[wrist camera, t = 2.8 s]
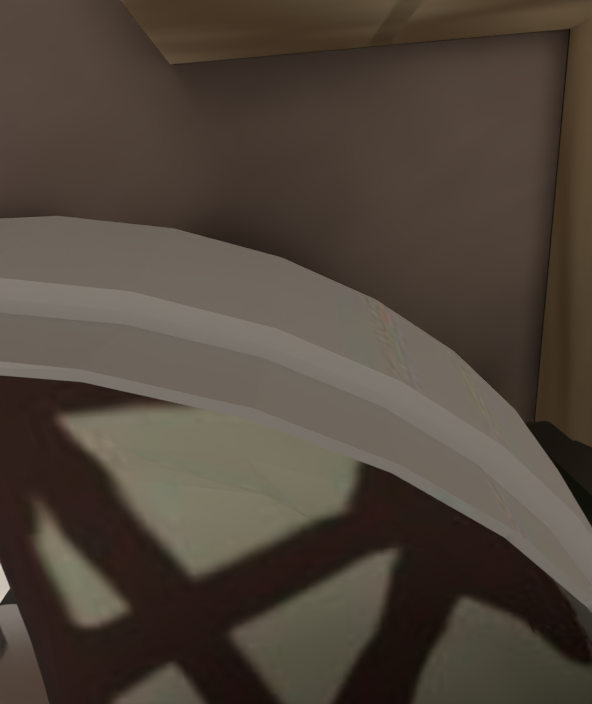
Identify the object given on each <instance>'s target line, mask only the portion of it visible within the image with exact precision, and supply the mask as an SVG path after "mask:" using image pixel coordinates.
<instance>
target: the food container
mask: <svg viewBox="0 0 592 704" xmlns="http://www.w3.org/2000/svg"><path fill="white" fill-rule="evenodd" d="M0 564H1V566H2V569H3V571H4V574H5V576H6V579H7V581H8V584H9V587H10V589H11V592H12V594H13V597H14V599H15V602H16V604H17V607H18V609H19V612H20V614H21V617H22V619H23V622H24V625H25V627H26V630H27V632H28V635H29V638H30V641H31V644H32V647H33V650H34V654H35V657H36V660H37V663H38V667H39V670H40V673H41V676H42V680H43V683H44V686H45V690H46V694H47V698H48V702H49V704H592V527H591V525H590V523H589V522H588V520H587V518H586V517H585V515H584V513H583V512H582V510H581V508H580V506H579V505H578V503H577V501H576V500H575V498H574V496H573V495H572V493H571V491H570V490H569V488H568V486H567V485H566V483H565V481H564V479H563V478H562V476H561V474H560V473H559V471H558V469H557V468H556V467H555V465H554V464H553V462H552V461H551V460H550V458H549V457H548V455H547V454H546V453H545V451H544V450H543V448H542V447H541V446H540V444H539V443H538V441H537V440H536V438H535V437H534V436H533V434H532V433H531V431H530V430H529V429H528V427H527V426H526V424H525V423H524V422H523V420H522V419H521V417H520V416H519V414H518V413H517V412H516V410H515V409H514V408H513V407H512V406H511V405H510V404H509V403H508V402H507V401H506V400H505V399H504V398H502V397H501V396H500V395H499V394H498V393H497V392H496V391H495V390H494V389H493V388H492V387H491V386H490V385H489V384H488V383H487V382H486V381H485V380H484V379H483V378H482V377H480V376H479V375H478V374H477V373H476V372H475V371H474V370H473V369H472V368H471V367H470V366H469V365H468V364H467V363H466V362H465V361H464V360H463V359H462V358H461V357H460V356H459V355H457V354H456V353H455V352H454V351H453V350H451V349H450V348H448V347H447V346H445V345H444V344H442V343H441V342H439V341H438V340H436V339H435V338H433V337H432V336H430V335H429V334H427V333H426V332H424V331H423V330H421V329H420V328H418V327H417V326H415V325H414V324H412V323H411V322H409V321H408V320H406V319H405V318H403V317H402V316H400V315H399V314H397V313H396V312H394V311H392V310H391V309H389V308H388V307H386V306H385V305H383V304H382V303H380V302H379V301H377V300H376V299H374V298H371V297H369V296H367V295H365V294H362V293H360V292H358V291H356V290H353V289H351V288H349V287H347V286H345V285H342V284H340V283H338V282H336V281H333V280H331V279H329V278H327V277H324V276H322V275H320V274H318V273H315V272H313V271H311V270H309V269H306V268H304V267H302V266H300V265H297V264H295V263H293V262H291V261H289V260H286V259H284V258H282V257H278V256H275V255H271V254H267V253H264V252H260V251H256V250H252V249H249V248H245V247H241V246H237V245H234V244H230V243H226V242H223V241H219V240H215V239H211V238H208V237H204V236H200V235H197V234H193V233H189V232H185V231H182V230H178V229H174V228H166V227H156V226H147V225H138V224H129V223H120V222H110V221H101V220H92V219H83V218H73V217H64V216H43V217H21V218H0Z"/></svg>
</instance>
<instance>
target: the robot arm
mask: <svg viewBox="0 0 592 704" xmlns="http://www.w3.org/2000/svg"><path fill="white" fill-rule="evenodd" d="M525 424H526V426H527V427H528V429H529V430H530V431H531V433H532V434H533V436H534V437H535V438H536V440H537V441H538V443H539V444H540V446H541V447H542V448H543V450H544V451H545V453H546V454H547V455H548V457H549V458H550V460H551V461H552V462H553V464H554V465H555V467H556V468H557V469H558V471H559V473H560V474H561V476H562V478H563V479H564V481H565V483H566V485H567V486H568V488H569V490H570V491H571V493H572V495H573V496H574V498H575V500H576V501H577V503H578V505H579V506H580V508H581V510H582V512H583V513H584V515H585V517H586V518H587V520H588V522H589V523H590V525H591V527H592V447H590V446H588V445H585V444H583V443H581V442H579V441H577V440H576V441H572V440H571V439H570V438H569V437H568V436H566V435H565V434H564V433H563V432H561V431H560V430H559V429H558V428H557V427H555V426H554V425H553V424H552V423H550V422H548V421H537V422H528V423H525ZM0 704H49V702H48V698H47V694H46V690H45V686H44V683H43V680H42V676H41V673H40V670H39V667H38V663H37V660H36V657H35V654H34V650H33V647H32V644H31V641H30V638H29V635H28V632H27V630H26V627H25V625H24V622H23V619H22V617H21V614H20V612H19V609H18V607H17V604H16V602H15V599H14V597H13V594H12V592H11V589H9V591H8V592H7V594H6V595H5V597H4V598H3V600H2V601H1V603H0Z"/></svg>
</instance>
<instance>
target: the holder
mask: <svg viewBox="0 0 592 704" xmlns="http://www.w3.org/2000/svg"><path fill="white" fill-rule="evenodd" d="M120 1H121V2H122V4H123V5H124V6H125V7H126V9H127V10H128V11H129V13H130V14H131V15H132V16H133V18H134V19H135V20H136V22H137V23H138V24H139V25H140V27H141V28H142V29H143V30H144V32H145V33H146V34H147V36H148V37H149V38H150V39H151V41H152V42H153V43H154V45H155V46H156V47H157V48H158V50H159V51H160V52H161V54H162V55H163V56H164V57H165V59H166V60H167V61H168V63H169V64H170V65H171V64H182V63H193V62H204V61H215V60H227V59H238V58H249V57H260V56H271V55H283V54H294V53H305V52H316V51H328V50H339V49H350V48H361V47H372V46H384V45H395V44H406V43H417V42H428V41H440V40H451V39H462V38H473V37H484V36H496V35H507V34H518V33H529V32H541V31H552V30H563V29H570V39H569V50H568V61H567V72H566V83H565V94H564V105H563V116H562V127H561V138H560V149H559V160H558V171H557V182H556V193H555V204H554V215H553V226H552V237H551V248H550V259H549V270H548V281H547V292H546V303H545V314H544V325H543V336H542V347H541V358H540V369H539V380H538V391H537V402H536V413H535V422H537V421H548V422H550V423H552V424H553V425H554V426H555V427H557V428H558V429H559V430H560V431H561V432H563V433H564V434H565V435H566V436H568V437H569V438H570V439H571V440H572V441H576V440H577V441H579V442H581V443H583V444H585V445H588V446H590V447H592V0H120Z"/></svg>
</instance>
